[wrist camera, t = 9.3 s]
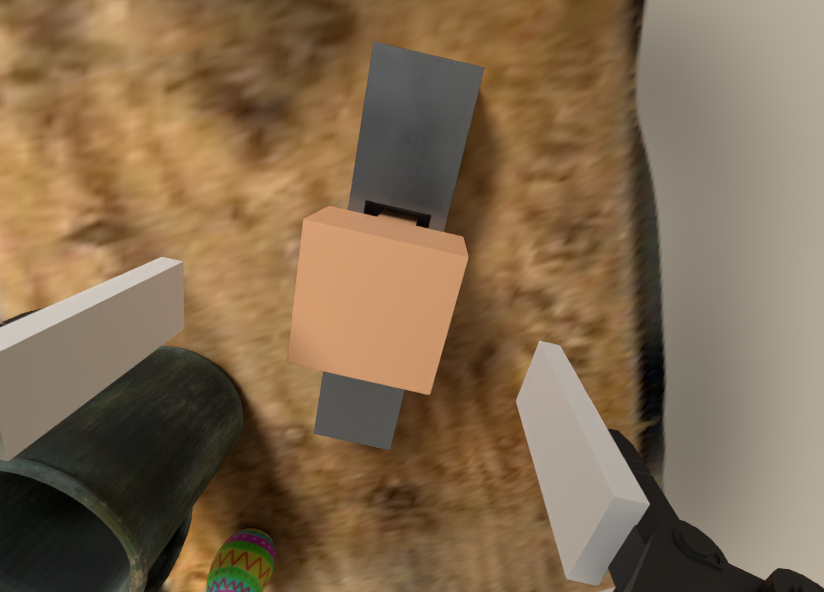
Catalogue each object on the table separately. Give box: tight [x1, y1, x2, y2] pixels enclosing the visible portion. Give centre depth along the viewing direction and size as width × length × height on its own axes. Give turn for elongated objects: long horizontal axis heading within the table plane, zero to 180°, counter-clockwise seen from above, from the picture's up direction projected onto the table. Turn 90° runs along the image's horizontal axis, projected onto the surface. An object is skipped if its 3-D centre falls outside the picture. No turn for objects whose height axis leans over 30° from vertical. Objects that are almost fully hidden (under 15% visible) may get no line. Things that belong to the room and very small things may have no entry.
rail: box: [314, 42, 484, 450], centre depth 23 cm, size 22×5×4 cm, turn 168°
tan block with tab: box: [287, 206, 469, 395], centre depth 21 cm, size 7×7×7 cm
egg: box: [206, 528, 275, 592], centre depth 32 cm, size 5×5×6 cm
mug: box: [0, 346, 243, 592], centre depth 25 cm, size 11×15×12 cm
